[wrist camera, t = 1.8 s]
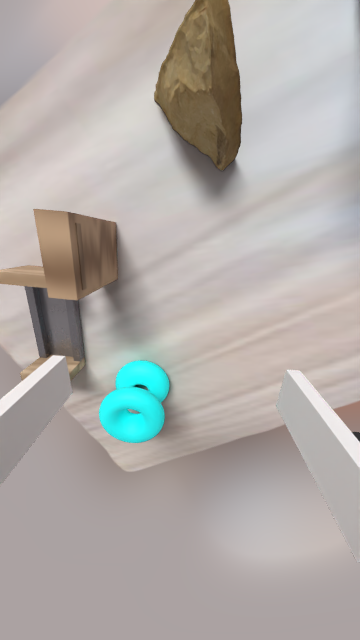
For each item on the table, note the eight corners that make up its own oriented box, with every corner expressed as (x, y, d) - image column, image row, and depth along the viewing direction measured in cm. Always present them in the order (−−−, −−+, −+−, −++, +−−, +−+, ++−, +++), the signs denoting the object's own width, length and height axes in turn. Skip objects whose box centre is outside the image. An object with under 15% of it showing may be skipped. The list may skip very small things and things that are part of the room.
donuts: (143, 388, 27) (174, 438, 30) (156, 350, 36) (178, 391, 39) (82, 408, 29) (117, 453, 32) (109, 367, 38) (134, 405, 41)
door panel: (94, 220, 28) (32, 208, 17) (116, 222, 28) (68, 211, 17) (98, 277, 32) (47, 297, 20) (118, 278, 31) (78, 300, 20)
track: (30, 275, 32) (22, 277, 31) (75, 279, 32) (70, 281, 30) (45, 353, 37) (39, 357, 36) (84, 357, 37) (80, 361, 36)
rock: (266, 153, 23) (259, 18, 18) (234, 156, 18) (212, -33, 13) (191, 184, 30) (172, 91, 25) (152, 192, 25) (118, 77, 20)
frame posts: (28, 265, 31) (-8, 271, 26) (74, 269, 31) (49, 276, 26) (46, 360, 38) (22, 381, 32) (85, 364, 38) (67, 385, 32)
